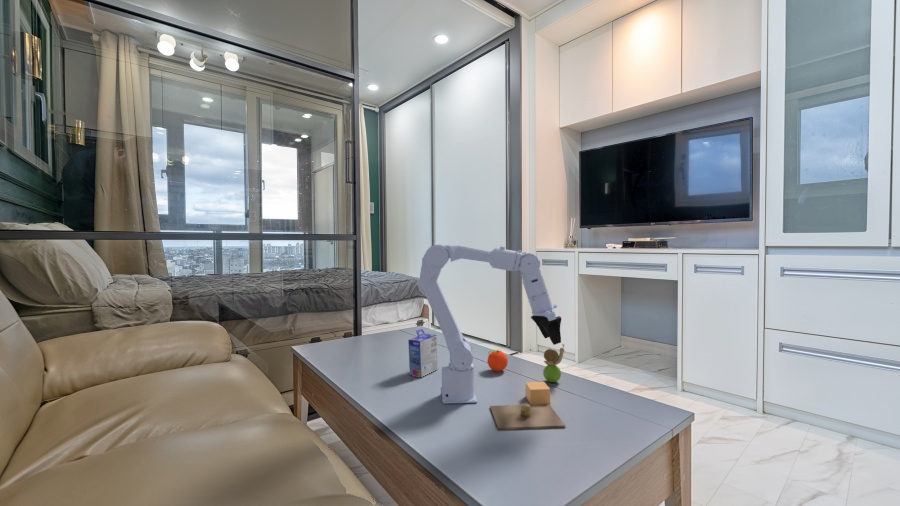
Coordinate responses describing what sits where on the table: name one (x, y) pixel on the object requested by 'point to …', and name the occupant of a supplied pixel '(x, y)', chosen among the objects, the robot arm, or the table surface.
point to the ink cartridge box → (423, 354)
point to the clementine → (497, 360)
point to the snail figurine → (552, 364)
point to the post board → (526, 417)
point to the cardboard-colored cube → (537, 392)
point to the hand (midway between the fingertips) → (552, 340)
